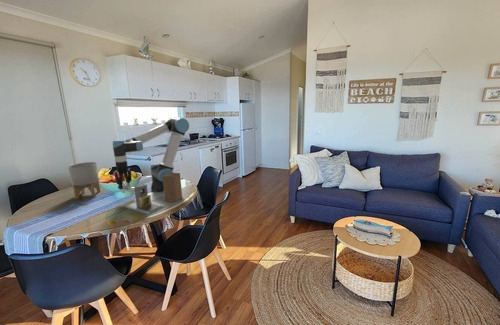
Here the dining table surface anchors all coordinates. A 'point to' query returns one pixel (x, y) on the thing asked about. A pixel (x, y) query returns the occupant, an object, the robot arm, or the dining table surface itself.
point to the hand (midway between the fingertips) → (125, 191)
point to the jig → (136, 205)
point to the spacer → (143, 202)
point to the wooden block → (172, 186)
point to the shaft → (130, 188)
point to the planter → (84, 177)
